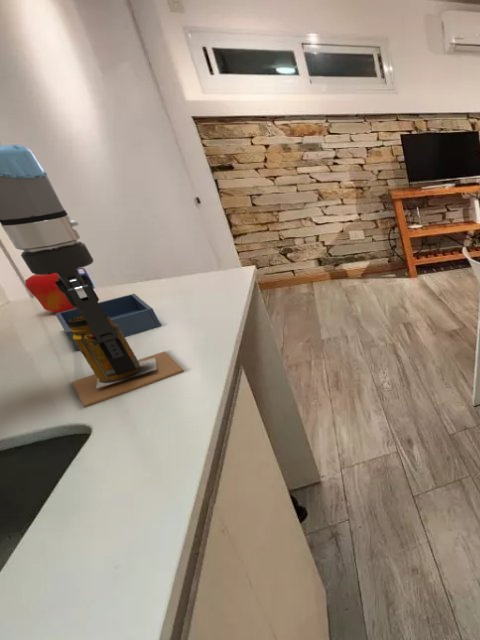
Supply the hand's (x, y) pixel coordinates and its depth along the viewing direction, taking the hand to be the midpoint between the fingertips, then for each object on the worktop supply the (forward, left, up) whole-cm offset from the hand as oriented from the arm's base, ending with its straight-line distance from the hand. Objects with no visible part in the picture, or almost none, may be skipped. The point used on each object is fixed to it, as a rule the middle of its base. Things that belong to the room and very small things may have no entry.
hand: (123, 366), depth 88 cm
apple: (-2, +68, -3) cm, 68 cm away
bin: (+3, +37, -2) cm, 37 cm away
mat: (0, 0, -2) cm, 2 cm away
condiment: (0, 0, -2) cm, 2 cm away
